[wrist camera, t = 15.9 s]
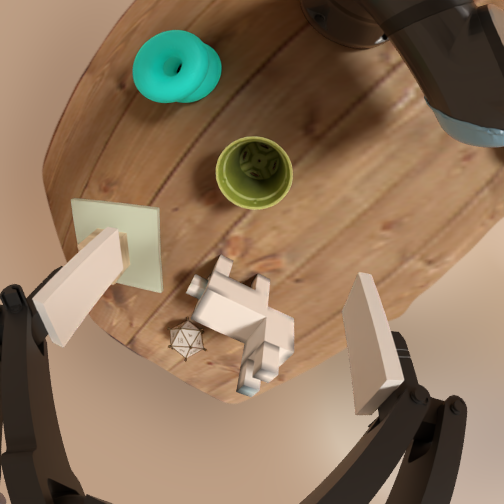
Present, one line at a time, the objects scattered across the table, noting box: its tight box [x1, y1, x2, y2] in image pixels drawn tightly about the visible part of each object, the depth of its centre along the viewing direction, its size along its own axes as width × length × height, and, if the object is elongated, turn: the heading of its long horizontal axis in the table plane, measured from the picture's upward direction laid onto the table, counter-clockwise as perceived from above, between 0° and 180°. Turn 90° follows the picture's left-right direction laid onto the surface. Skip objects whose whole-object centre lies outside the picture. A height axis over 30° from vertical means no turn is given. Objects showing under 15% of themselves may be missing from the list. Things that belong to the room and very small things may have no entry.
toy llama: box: [186, 255, 294, 397], centre depth 43 cm, size 8×18×20 cm, turn 62°
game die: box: [167, 317, 207, 362], centre depth 56 cm, size 9×8×10 cm
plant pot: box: [216, 136, 293, 210], centre depth 36 cm, size 9×9×9 cm
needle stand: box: [71, 198, 163, 293], centre depth 45 cm, size 18×20×12 cm
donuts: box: [133, 30, 222, 103], centre depth 30 cm, size 10×10×10 cm
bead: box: [77, 228, 130, 285], centre depth 46 cm, size 7×7×7 cm
